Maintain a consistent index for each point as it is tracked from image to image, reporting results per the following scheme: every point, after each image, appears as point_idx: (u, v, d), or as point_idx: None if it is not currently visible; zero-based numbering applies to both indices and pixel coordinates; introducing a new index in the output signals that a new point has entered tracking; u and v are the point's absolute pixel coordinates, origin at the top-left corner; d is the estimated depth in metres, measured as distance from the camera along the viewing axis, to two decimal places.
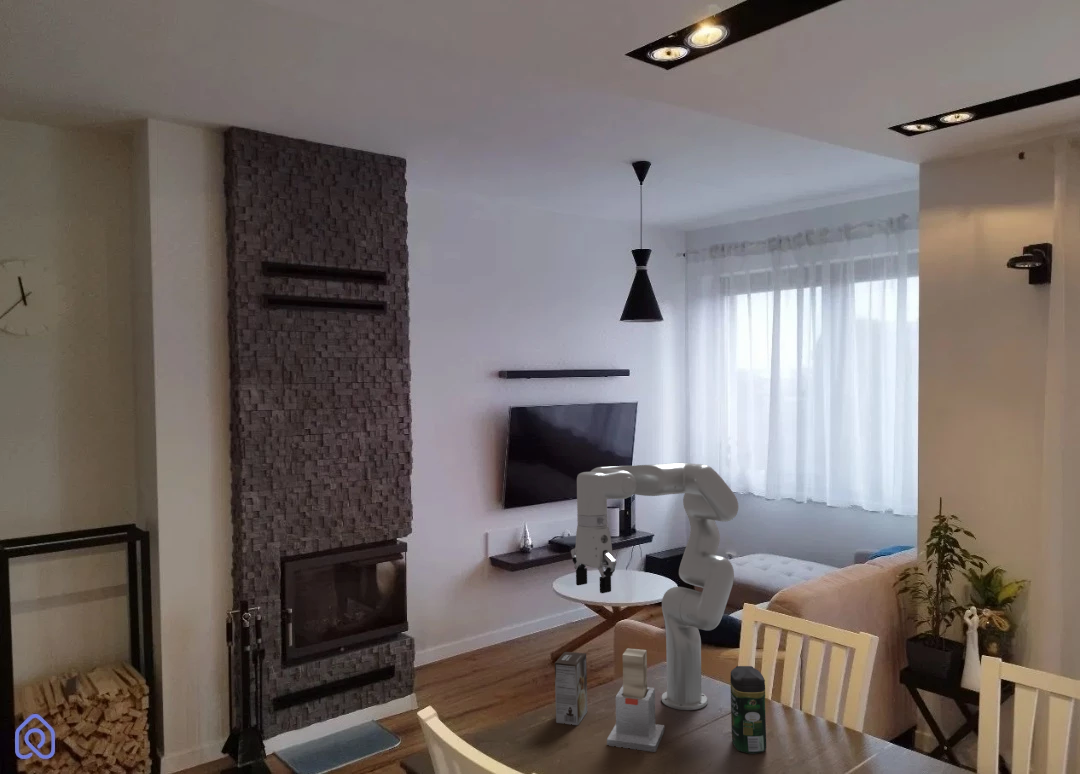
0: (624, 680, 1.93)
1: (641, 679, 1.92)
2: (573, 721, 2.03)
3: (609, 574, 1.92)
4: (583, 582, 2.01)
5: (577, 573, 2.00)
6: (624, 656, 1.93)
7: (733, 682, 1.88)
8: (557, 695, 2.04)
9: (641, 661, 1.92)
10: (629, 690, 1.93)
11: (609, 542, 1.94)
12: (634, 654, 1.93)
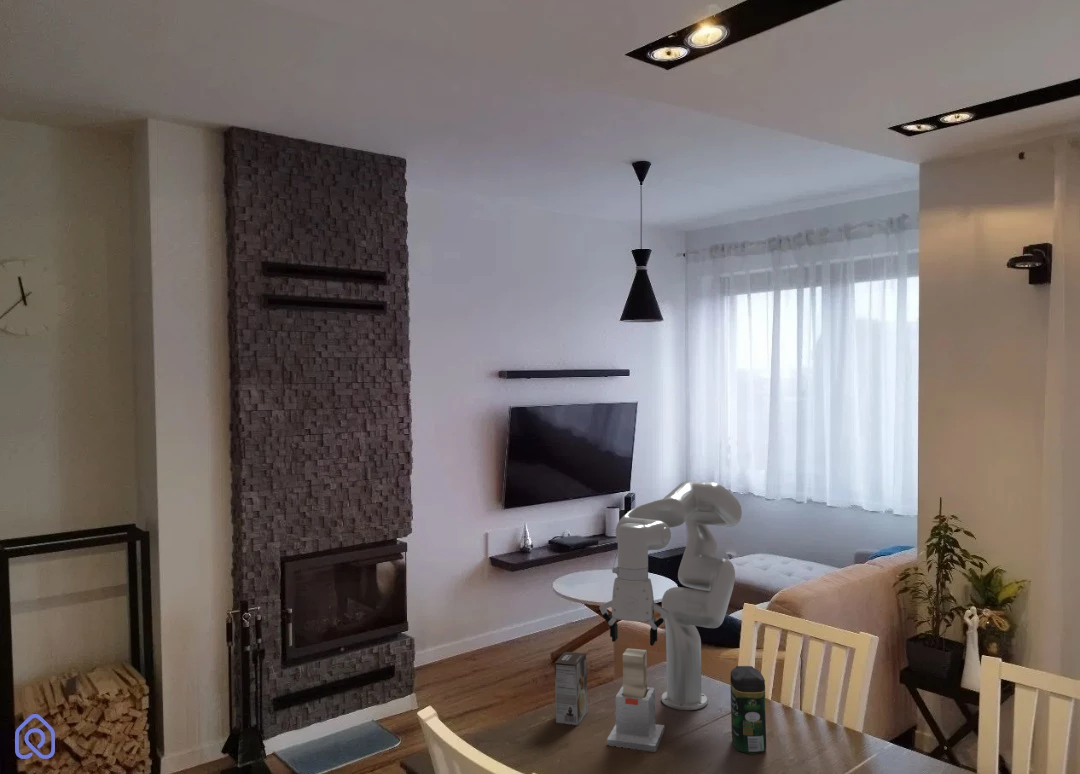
0: (624, 680, 1.93)
1: (641, 679, 1.92)
2: (573, 721, 2.03)
3: None
4: None
5: None
6: (624, 656, 1.93)
7: (733, 682, 1.88)
8: (557, 695, 2.04)
9: (641, 661, 1.92)
10: (629, 690, 1.93)
11: None
12: (634, 654, 1.93)
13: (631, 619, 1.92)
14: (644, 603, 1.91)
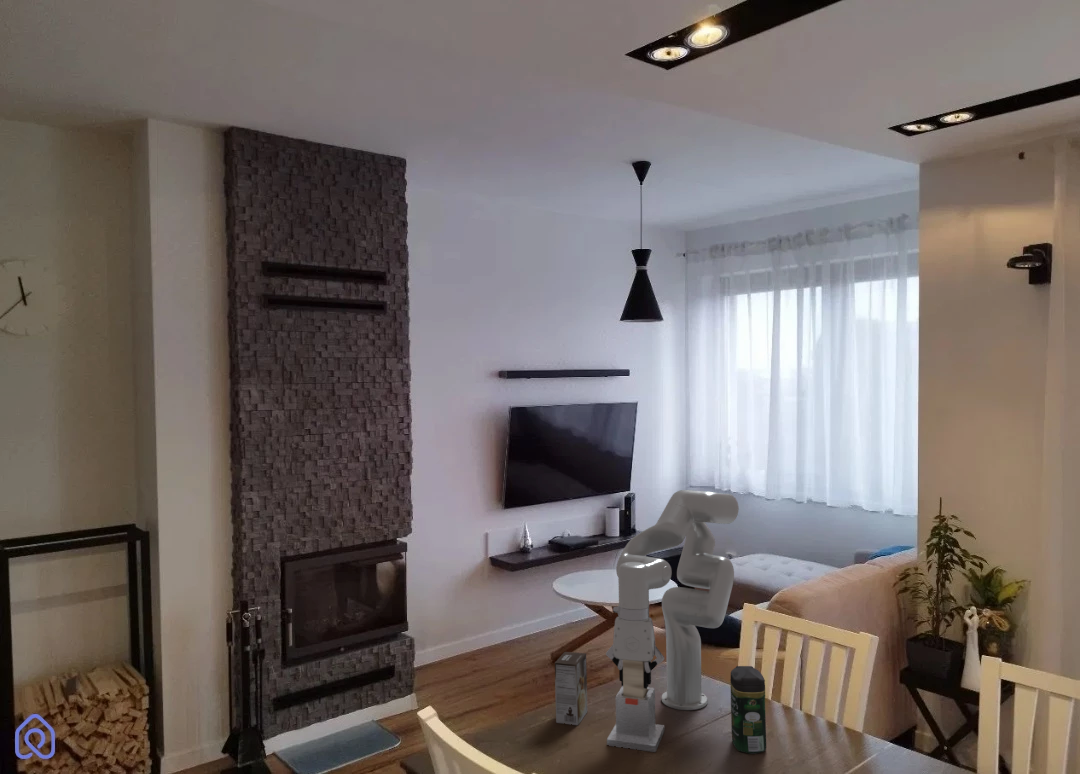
0: (624, 680, 1.93)
1: (641, 679, 1.92)
2: (573, 721, 2.03)
3: None
4: None
5: None
6: None
7: (733, 682, 1.88)
8: (557, 695, 2.04)
9: None
10: (629, 690, 1.93)
11: None
12: None
13: (632, 659, 1.92)
14: (645, 643, 1.91)
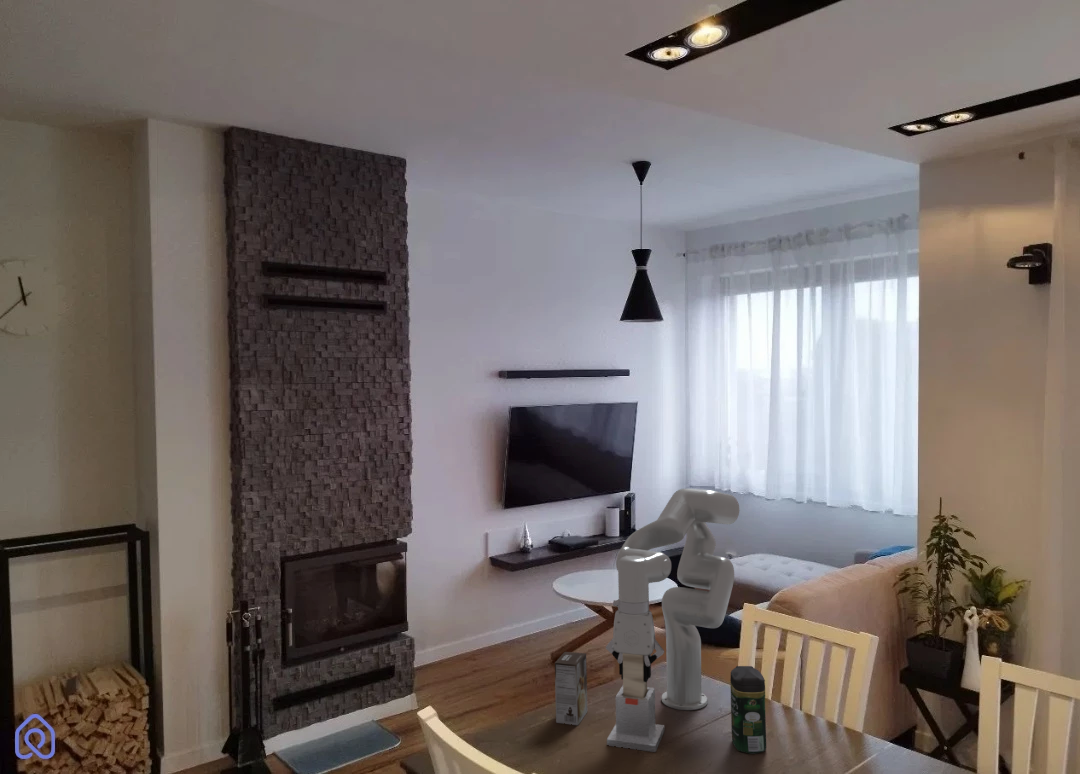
0: (624, 674, 1.93)
1: (641, 673, 1.92)
2: (573, 721, 2.03)
3: None
4: None
5: None
6: None
7: (733, 682, 1.88)
8: (557, 695, 2.04)
9: (641, 655, 1.92)
10: (629, 683, 1.93)
11: None
12: None
13: (632, 652, 1.92)
14: (645, 637, 1.91)
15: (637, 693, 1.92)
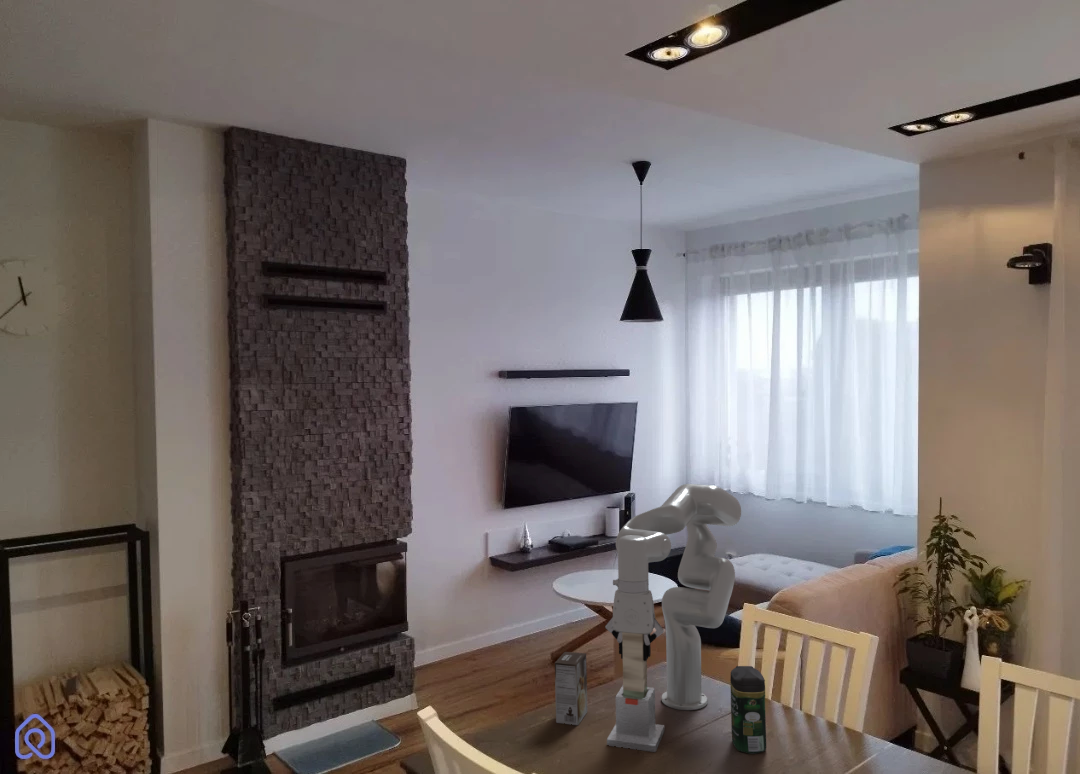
0: (624, 653, 1.93)
1: (641, 651, 1.92)
2: (573, 721, 2.03)
3: None
4: None
5: None
6: None
7: (733, 682, 1.88)
8: (557, 695, 2.04)
9: None
10: (629, 662, 1.93)
11: (613, 605, 1.95)
12: None
13: (632, 631, 1.92)
14: (645, 615, 1.91)
15: (636, 672, 1.92)
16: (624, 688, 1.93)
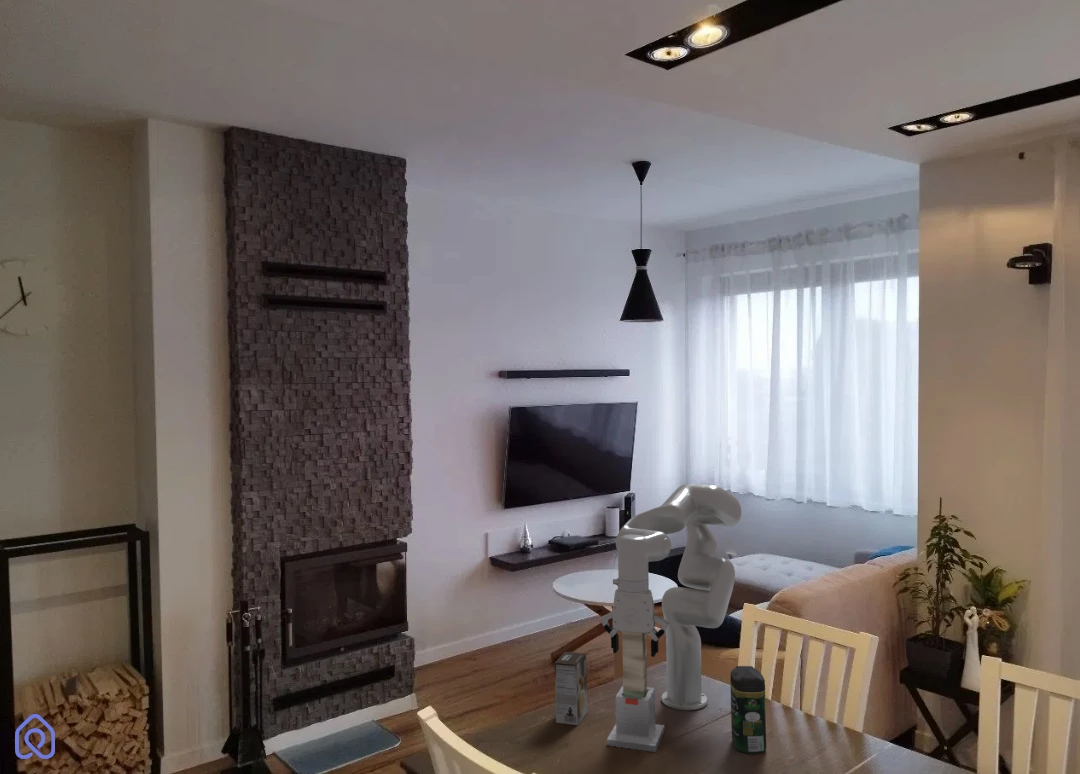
0: (624, 652, 1.93)
1: (641, 651, 1.92)
2: (573, 721, 2.03)
3: None
4: None
5: None
6: None
7: (733, 682, 1.88)
8: (557, 695, 2.04)
9: (641, 633, 1.92)
10: (628, 662, 1.93)
11: (613, 604, 1.95)
12: None
13: (632, 631, 1.92)
14: (645, 615, 1.91)
15: (636, 671, 1.92)
16: (624, 687, 1.93)
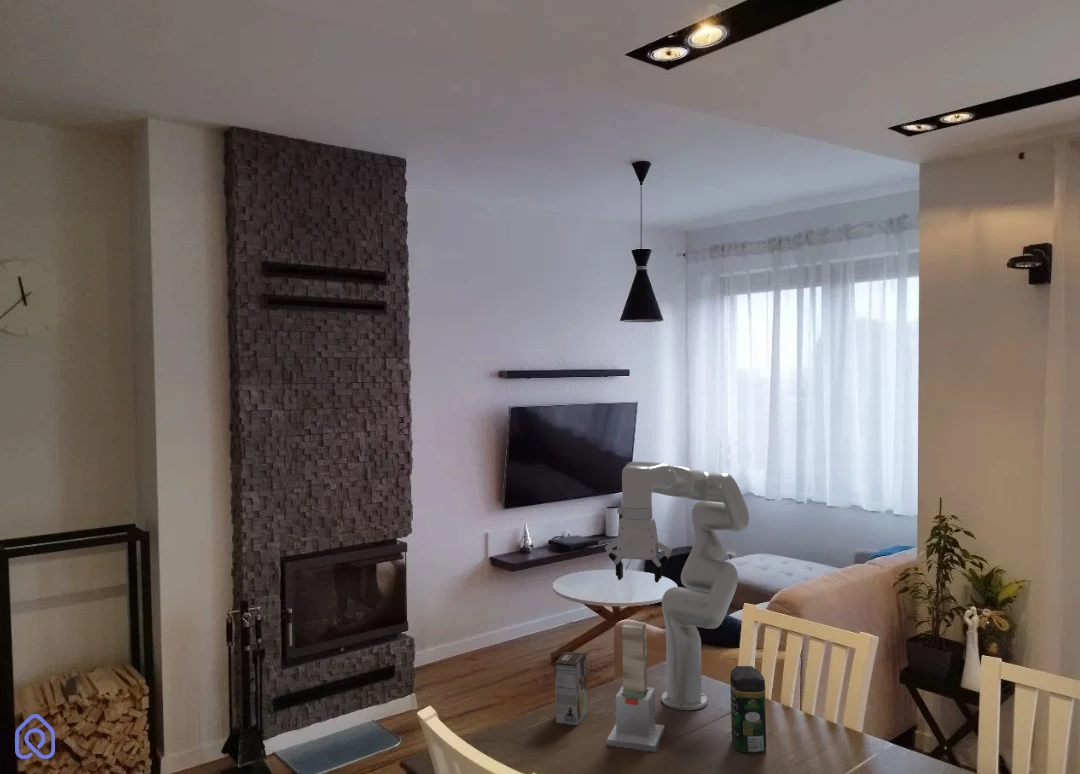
0: (624, 652, 1.93)
1: (641, 651, 1.92)
2: (573, 721, 2.03)
3: None
4: None
5: None
6: (624, 628, 1.93)
7: (733, 682, 1.88)
8: (557, 695, 2.04)
9: (641, 633, 1.92)
10: (628, 662, 1.93)
11: None
12: (633, 626, 1.93)
13: (636, 557, 1.97)
14: (648, 541, 1.97)
15: (636, 671, 1.92)
16: (624, 687, 1.93)
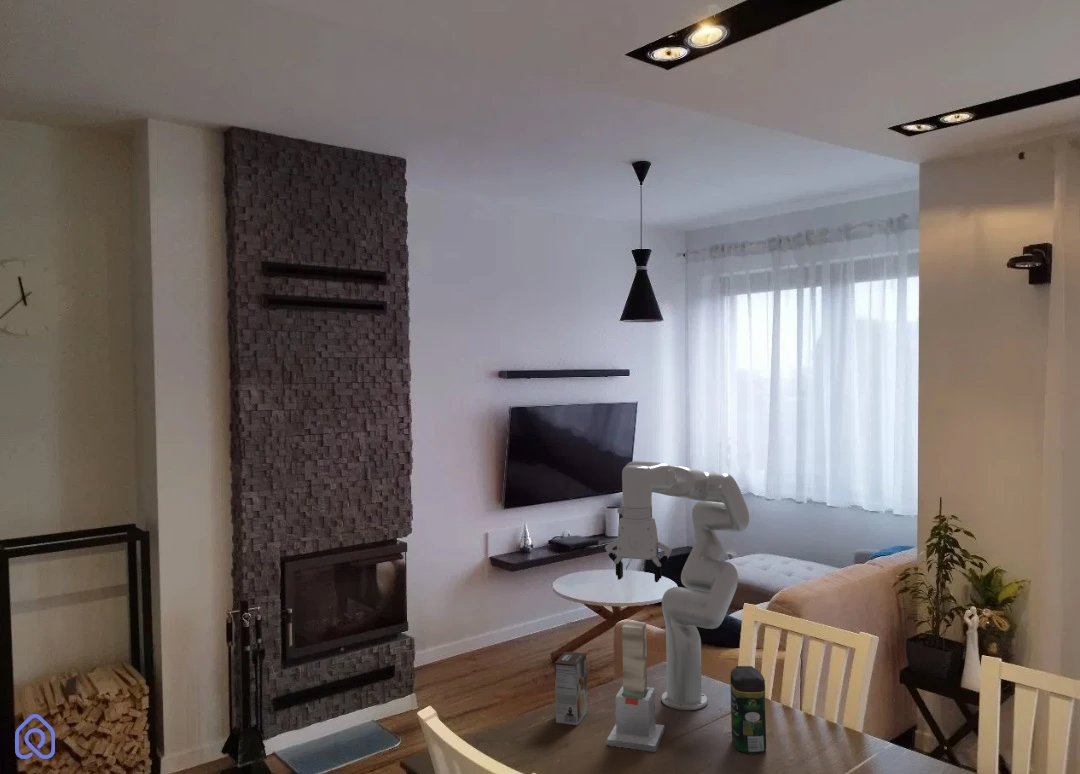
0: (624, 652, 1.93)
1: (641, 651, 1.92)
2: (573, 721, 2.03)
3: None
4: None
5: None
6: (624, 628, 1.93)
7: (733, 682, 1.88)
8: (557, 695, 2.04)
9: (641, 633, 1.92)
10: (628, 662, 1.93)
11: None
12: (633, 626, 1.93)
13: (636, 557, 1.98)
14: (648, 541, 1.97)
15: (636, 671, 1.92)
16: (624, 687, 1.93)
